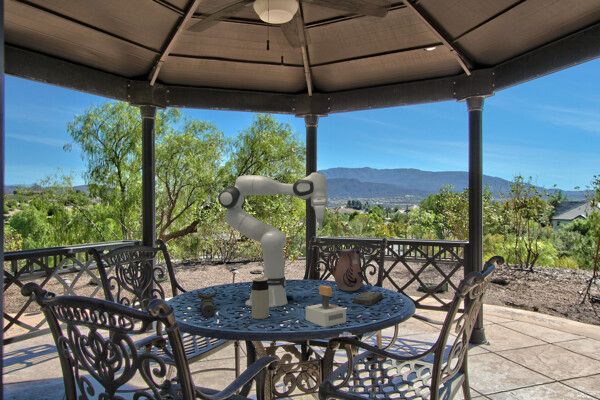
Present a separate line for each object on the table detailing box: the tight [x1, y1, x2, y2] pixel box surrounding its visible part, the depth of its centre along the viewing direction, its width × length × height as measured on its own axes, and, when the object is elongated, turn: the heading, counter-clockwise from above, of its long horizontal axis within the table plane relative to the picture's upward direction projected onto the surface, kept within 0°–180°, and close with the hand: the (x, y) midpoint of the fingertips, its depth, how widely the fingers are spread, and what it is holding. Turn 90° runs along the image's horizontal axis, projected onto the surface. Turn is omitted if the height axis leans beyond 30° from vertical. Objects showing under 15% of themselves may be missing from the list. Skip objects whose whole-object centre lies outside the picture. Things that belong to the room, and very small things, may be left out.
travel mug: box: [251, 276, 270, 320], centre depth 186 cm, size 8×8×18 cm
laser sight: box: [196, 288, 218, 318], centre depth 197 cm, size 10×22×10 cm, turn 15°
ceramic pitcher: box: [328, 248, 364, 292], centre depth 246 cm, size 18×21×25 cm
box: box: [353, 291, 383, 306], centre depth 217 cm, size 11×17×3 cm, turn 150°
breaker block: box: [305, 303, 347, 328], centre depth 178 cm, size 12×14×6 cm
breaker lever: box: [318, 284, 333, 307], centre depth 178 cm, size 2×6×9 cm, turn 35°
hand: (320, 229), depth 207 cm, fingers open, 8 cm apart
